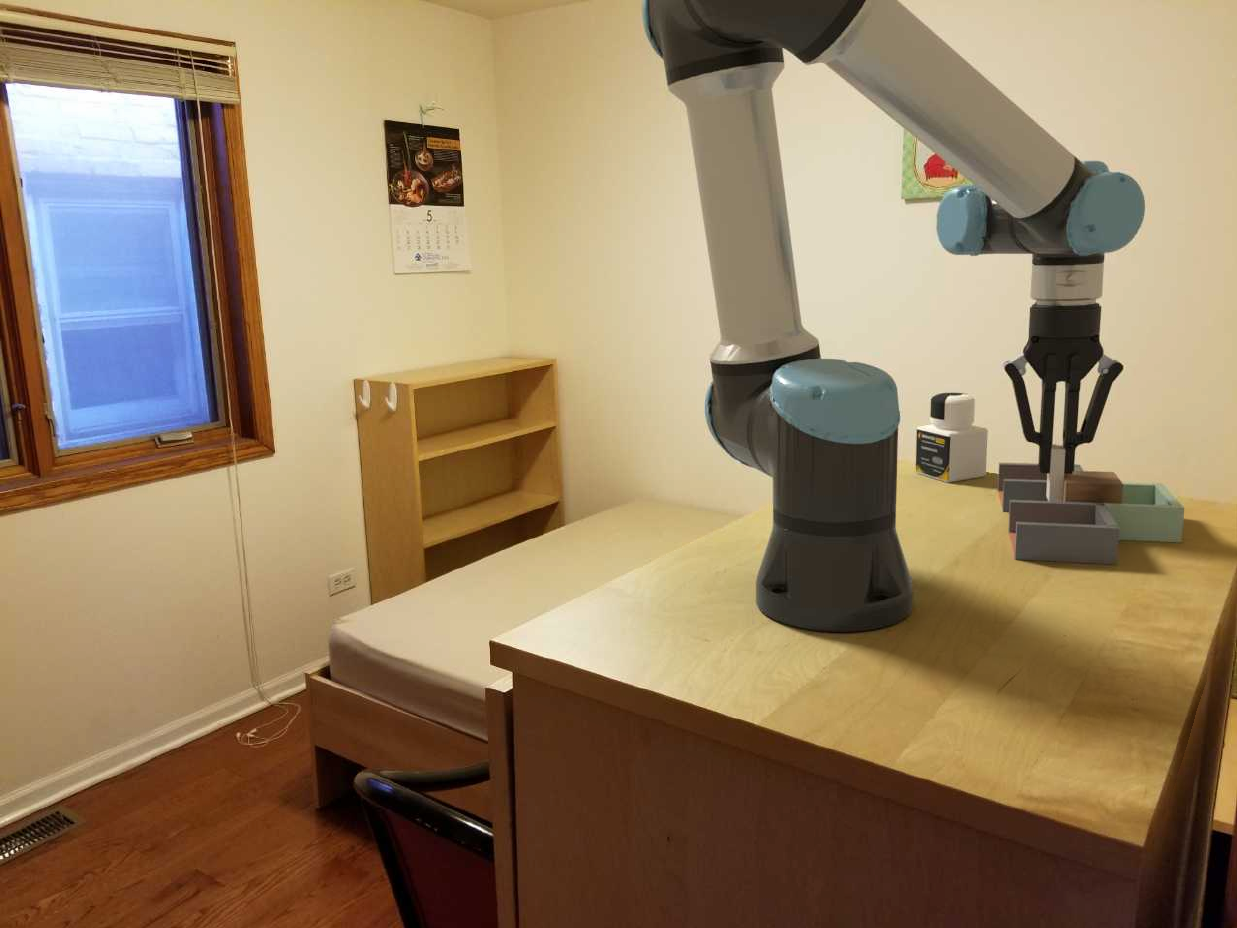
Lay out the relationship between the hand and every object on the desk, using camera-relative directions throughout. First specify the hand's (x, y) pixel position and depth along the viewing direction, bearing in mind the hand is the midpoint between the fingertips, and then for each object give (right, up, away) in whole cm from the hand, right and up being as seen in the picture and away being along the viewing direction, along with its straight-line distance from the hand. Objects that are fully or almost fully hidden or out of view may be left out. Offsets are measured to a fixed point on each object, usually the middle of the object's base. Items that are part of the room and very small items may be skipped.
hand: (1054, 499), depth 117 cm
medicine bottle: (-4, +2, +25) cm, 26 cm away
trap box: (+4, -3, 0) cm, 5 cm away
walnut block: (+4, -3, -1) cm, 5 cm away
